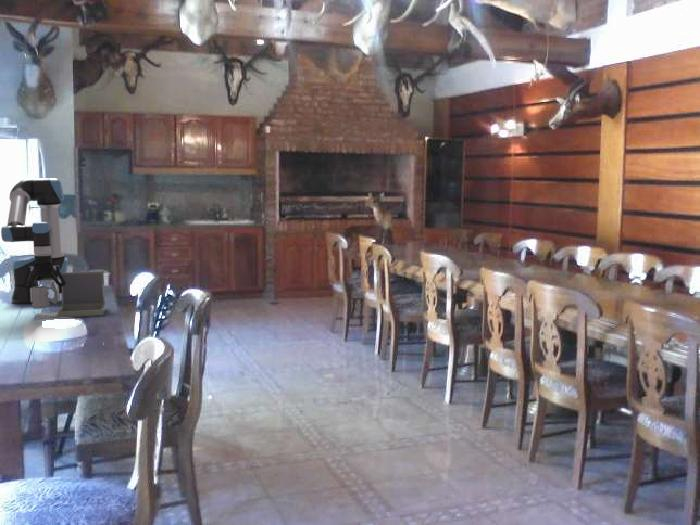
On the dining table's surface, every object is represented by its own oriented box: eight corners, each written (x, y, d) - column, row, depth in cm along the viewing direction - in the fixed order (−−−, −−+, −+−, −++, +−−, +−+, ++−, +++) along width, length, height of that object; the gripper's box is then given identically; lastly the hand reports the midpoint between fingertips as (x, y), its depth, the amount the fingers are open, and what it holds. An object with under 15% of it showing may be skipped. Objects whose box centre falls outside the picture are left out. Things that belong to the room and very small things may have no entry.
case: (62, 311, 364) (60, 272, 361) (105, 308, 369) (103, 270, 367) (58, 318, 346) (55, 278, 343) (103, 315, 351) (101, 276, 349)
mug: (31, 307, 352) (29, 282, 350) (57, 304, 357) (56, 280, 356) (33, 309, 345) (31, 284, 344) (60, 307, 351) (58, 282, 349)
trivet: (36, 314, 355) (36, 313, 355) (58, 313, 358) (58, 312, 358) (33, 318, 346) (33, 317, 346) (56, 317, 348) (56, 316, 348)
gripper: (14, 256, 342) (17, 303, 344) (68, 254, 348) (71, 301, 350) (17, 255, 349) (19, 301, 351) (70, 253, 355) (72, 298, 358)
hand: (45, 301), depth 351 cm, fingers closed on mug, 11 cm apart
